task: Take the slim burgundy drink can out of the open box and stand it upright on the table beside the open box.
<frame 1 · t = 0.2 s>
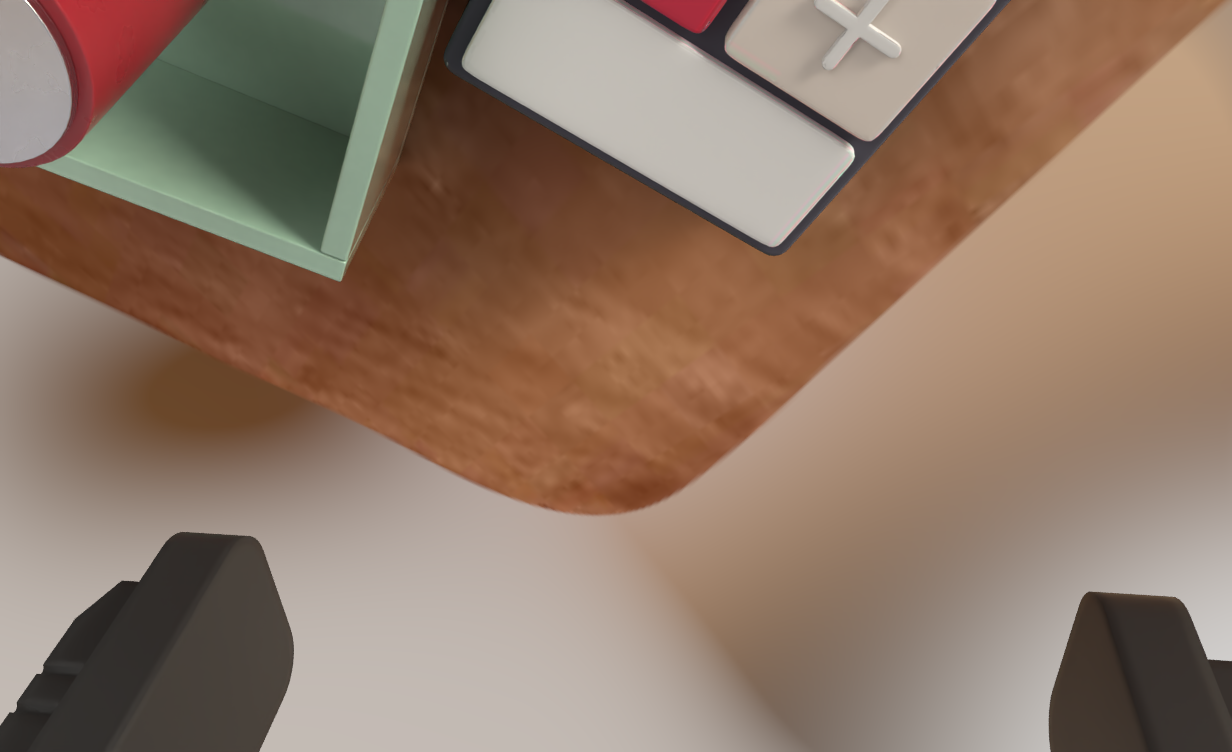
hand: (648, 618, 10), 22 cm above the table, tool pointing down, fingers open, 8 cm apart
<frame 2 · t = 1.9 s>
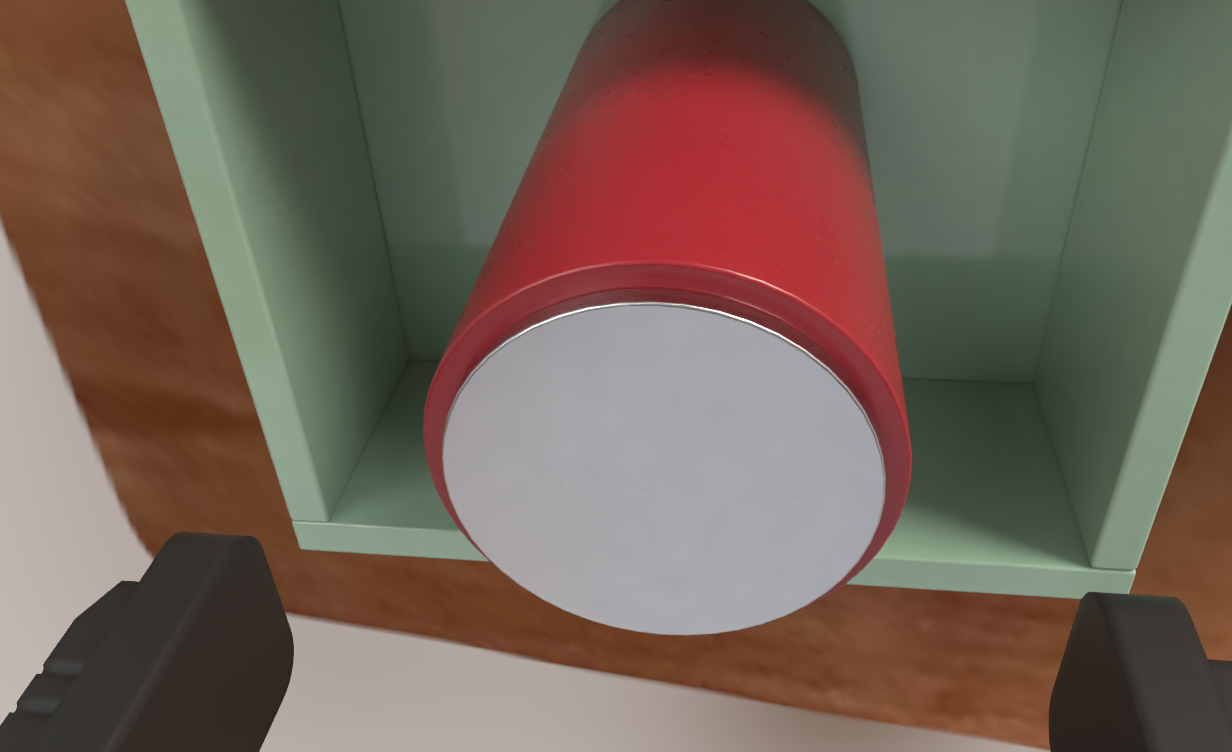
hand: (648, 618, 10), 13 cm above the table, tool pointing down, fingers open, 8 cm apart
can: (710, 118, 20), point 1 cm above the table, touching open box
open box: (712, 106, 21), on the table
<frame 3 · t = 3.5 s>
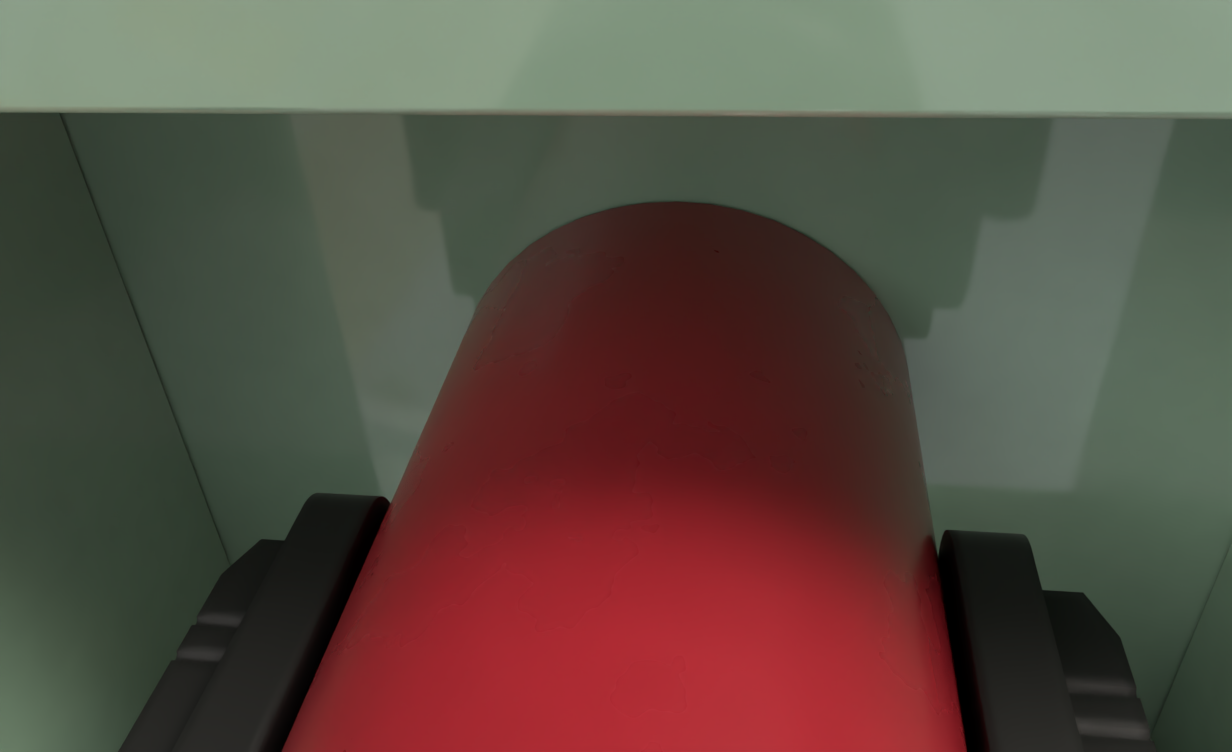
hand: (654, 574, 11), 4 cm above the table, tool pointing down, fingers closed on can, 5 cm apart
can: (680, 400, 13), point 1 cm above the table, touching open box, gripper
open box: (683, 372, 14), on the table
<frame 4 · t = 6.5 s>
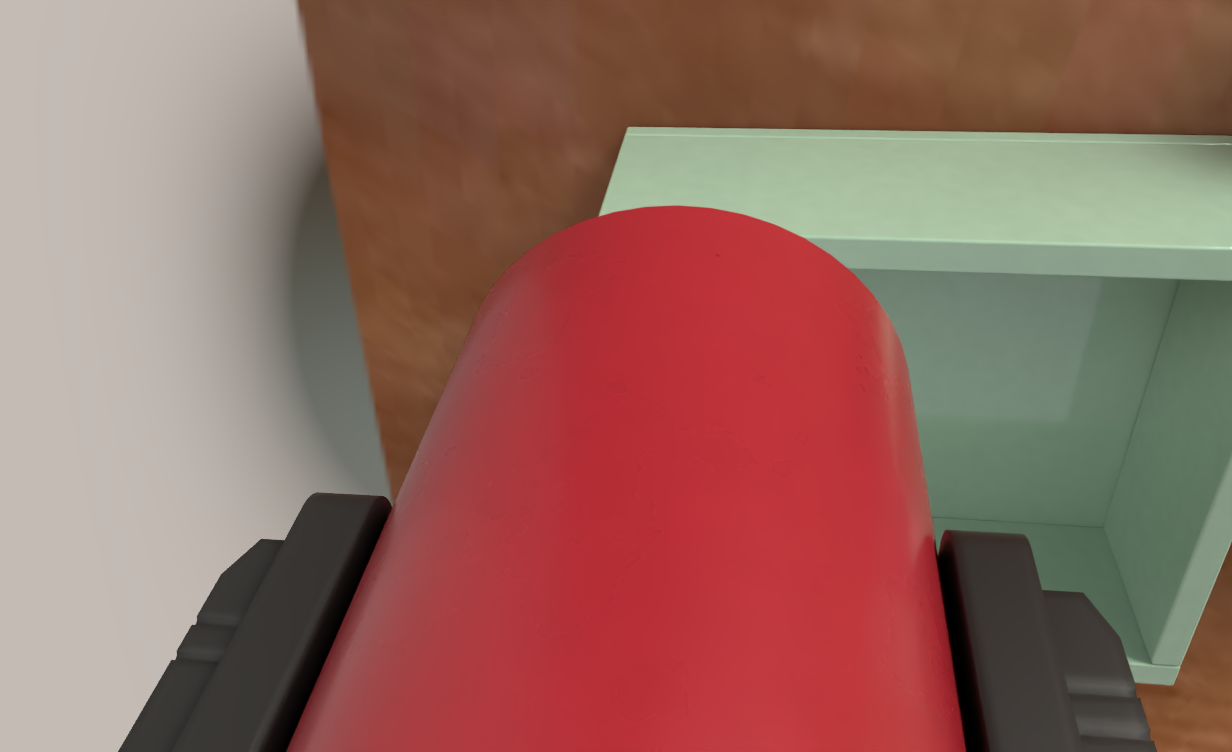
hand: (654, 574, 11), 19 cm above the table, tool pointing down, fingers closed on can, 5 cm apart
can: (681, 403, 13), point 16 cm above the table, touching gripper
open box: (895, 348, 31), on the table
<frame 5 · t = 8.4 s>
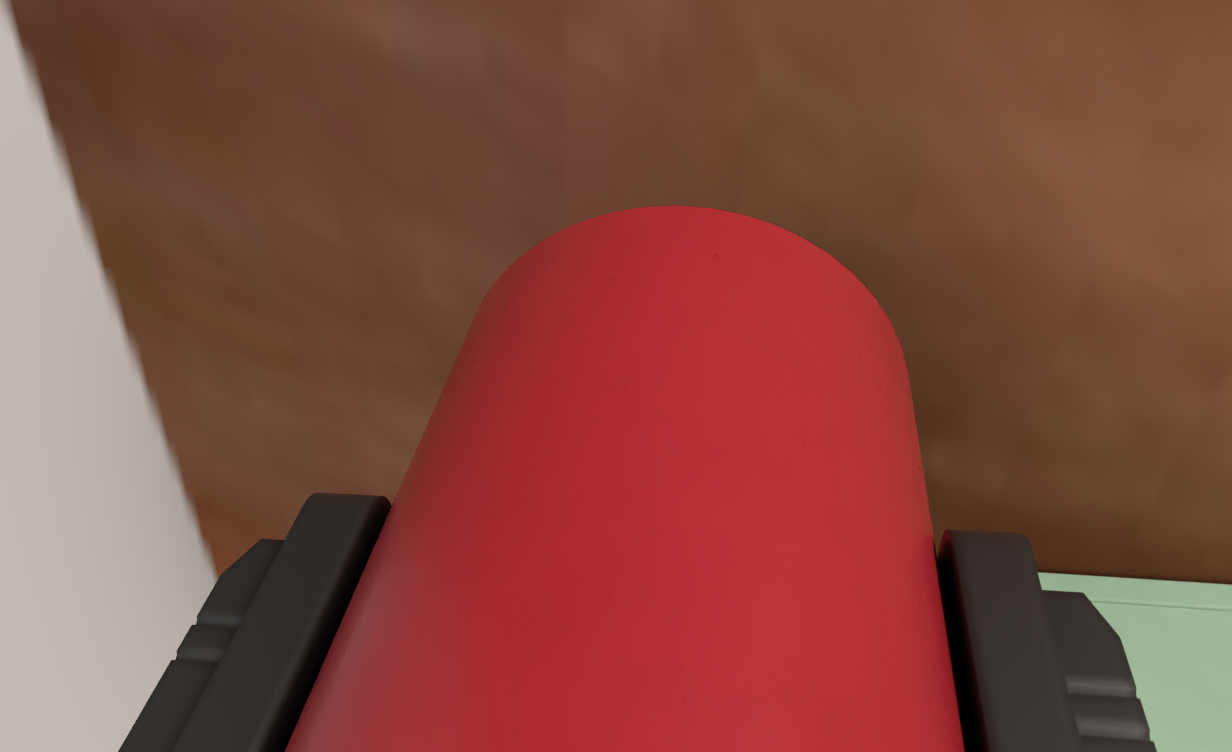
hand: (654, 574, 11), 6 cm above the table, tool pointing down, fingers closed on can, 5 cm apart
can: (680, 403, 13), point 3 cm above the table, touching gripper
when the fingers open (3 cm above the table, at t = 9.8 s): can stays where it is, on the table.
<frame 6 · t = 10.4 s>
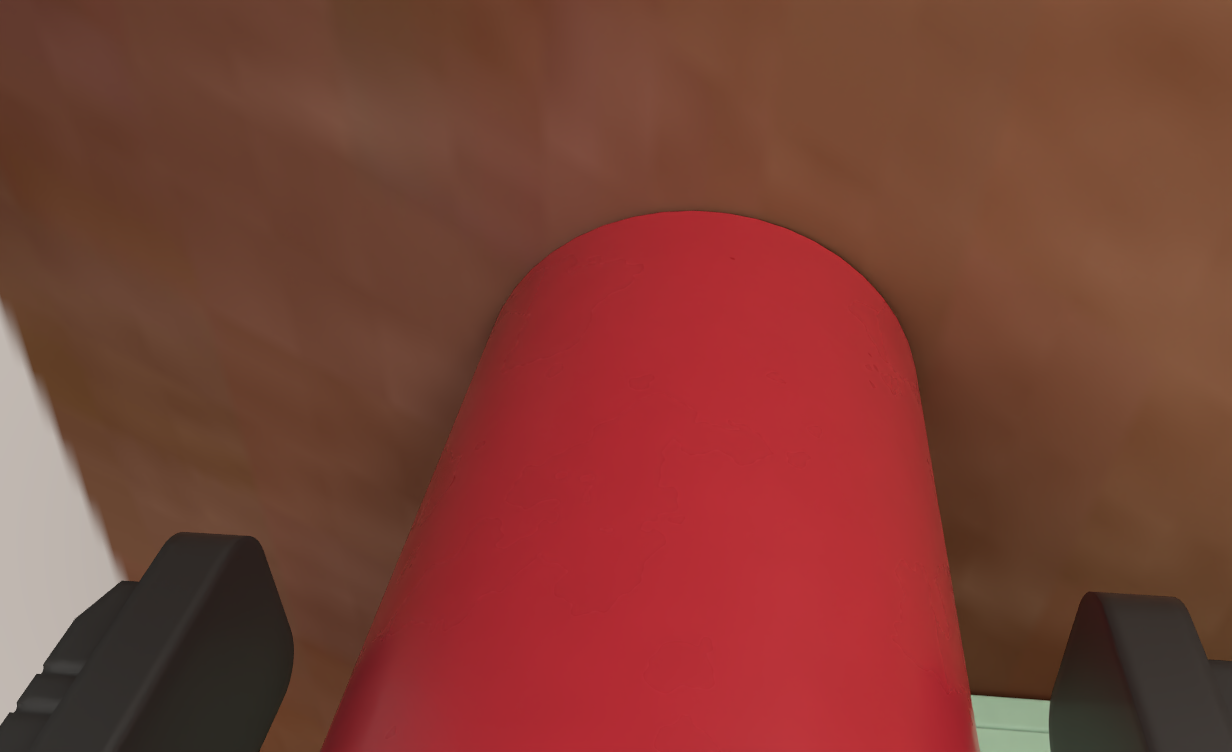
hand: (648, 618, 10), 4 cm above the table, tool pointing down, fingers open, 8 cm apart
can: (695, 402, 14), on the table
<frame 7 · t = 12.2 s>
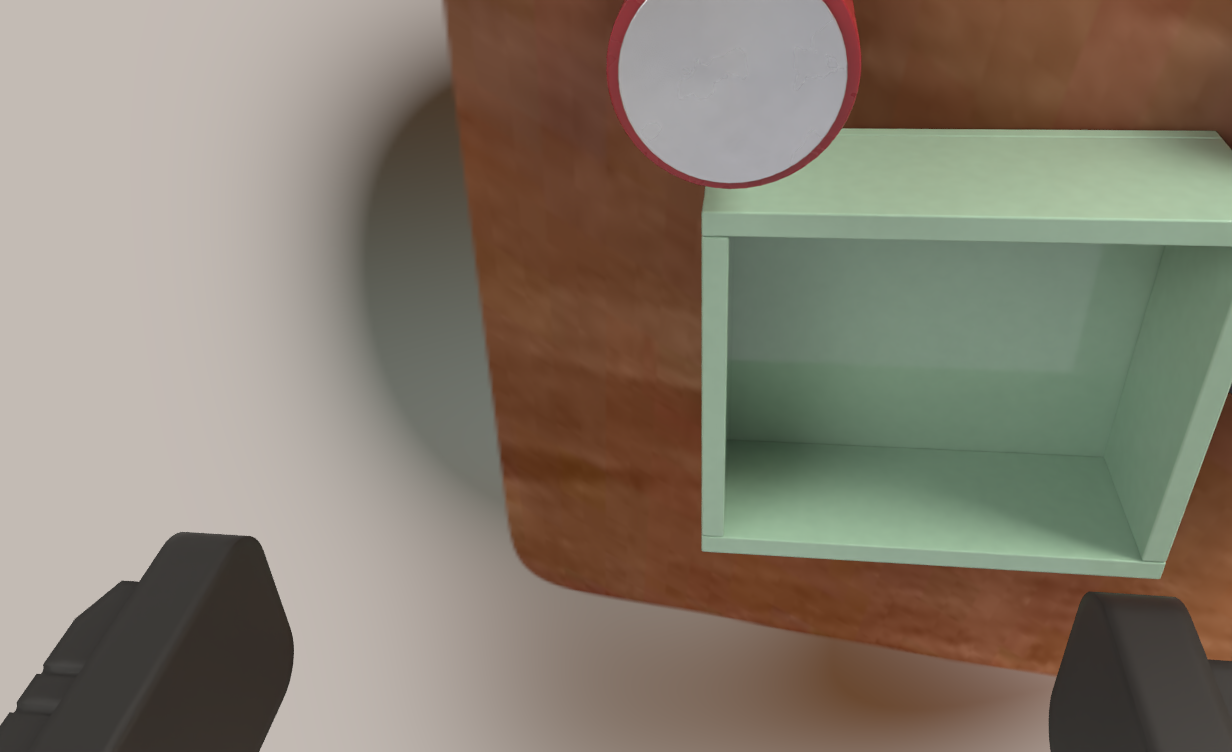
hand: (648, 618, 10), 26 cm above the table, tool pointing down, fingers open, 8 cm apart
open box: (930, 308, 38), on the table
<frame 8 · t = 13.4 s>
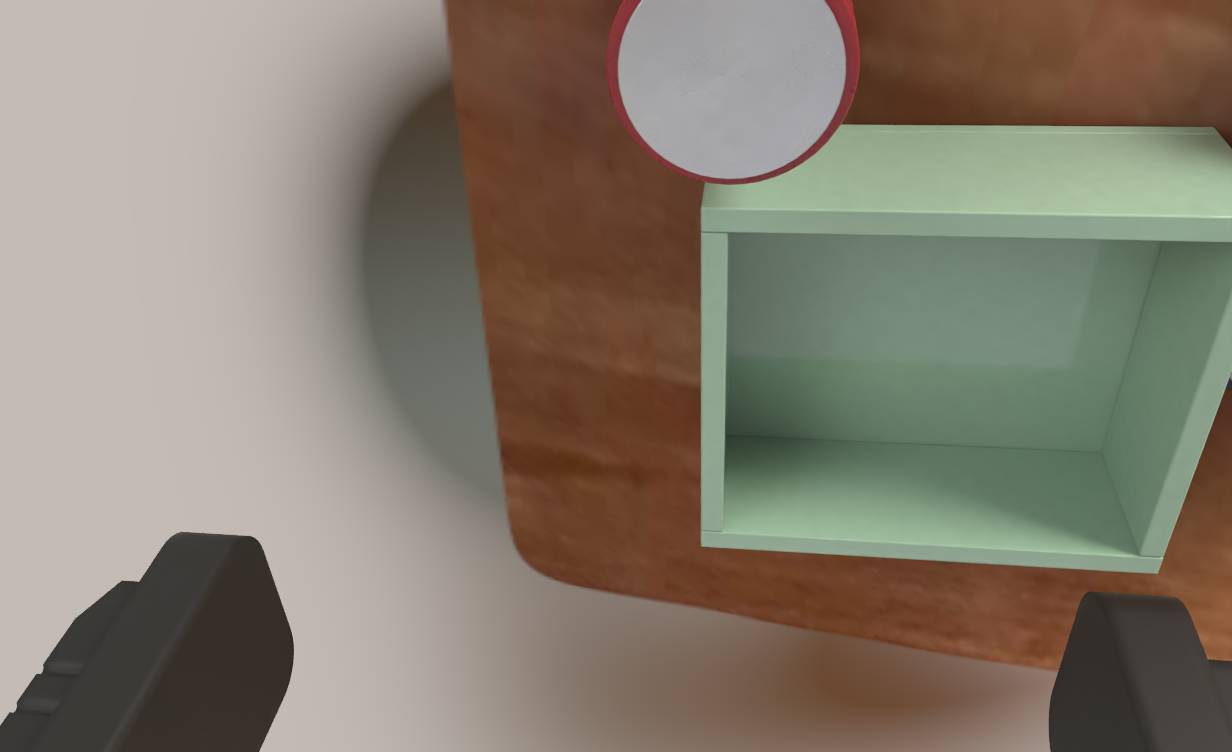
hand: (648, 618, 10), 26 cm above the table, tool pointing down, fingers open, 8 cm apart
open box: (928, 303, 38), on the table
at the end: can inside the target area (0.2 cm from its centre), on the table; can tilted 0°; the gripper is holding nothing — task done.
